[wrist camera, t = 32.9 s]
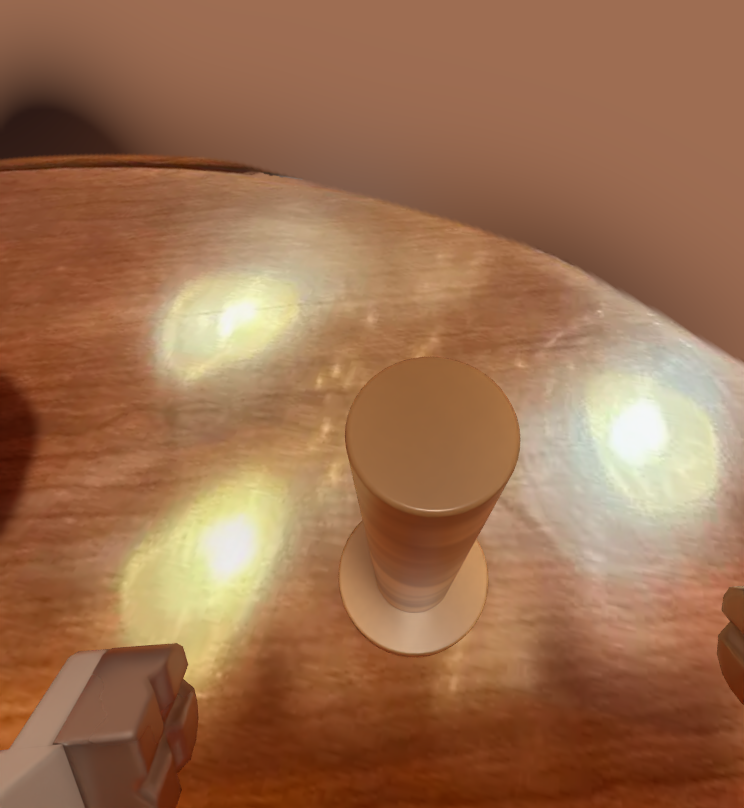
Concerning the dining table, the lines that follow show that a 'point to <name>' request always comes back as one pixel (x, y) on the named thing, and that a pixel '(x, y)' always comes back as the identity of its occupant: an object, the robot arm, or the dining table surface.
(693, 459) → the dining table surface
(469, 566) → the wooden peg stand
